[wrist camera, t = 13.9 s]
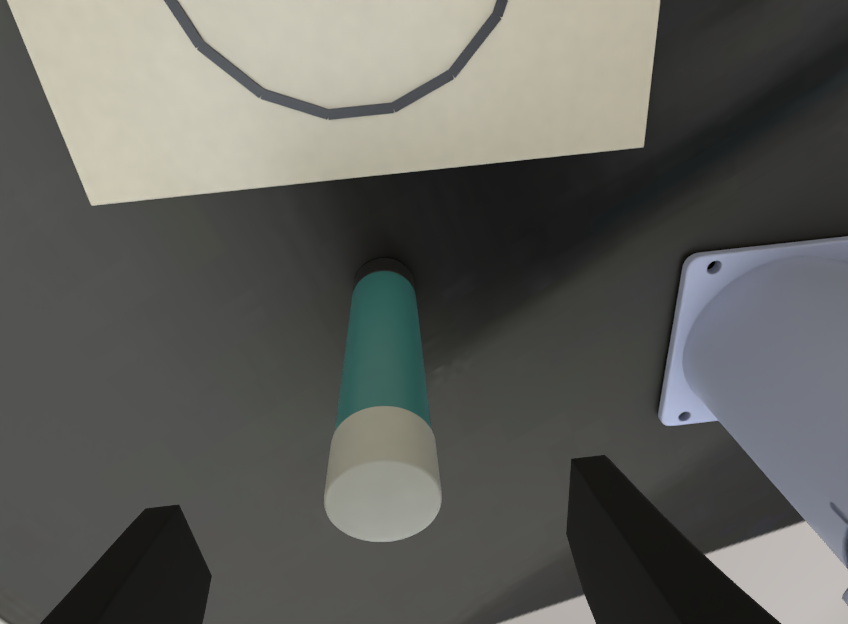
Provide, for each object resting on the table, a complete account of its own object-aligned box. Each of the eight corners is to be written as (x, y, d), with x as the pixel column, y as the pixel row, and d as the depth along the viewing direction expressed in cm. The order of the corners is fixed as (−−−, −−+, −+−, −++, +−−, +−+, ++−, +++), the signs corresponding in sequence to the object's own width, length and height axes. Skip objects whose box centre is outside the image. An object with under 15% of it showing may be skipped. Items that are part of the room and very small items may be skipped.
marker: (412, 252, 18) (438, 453, 9) (418, 308, 19) (445, 535, 10) (348, 259, 18) (313, 467, 9) (357, 315, 19) (334, 548, 10)
